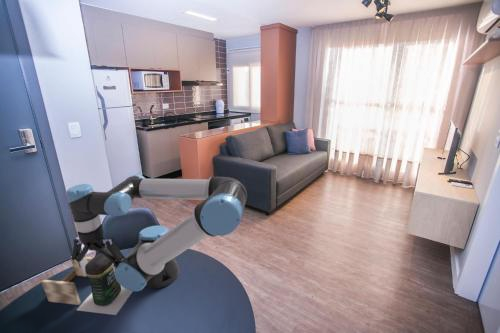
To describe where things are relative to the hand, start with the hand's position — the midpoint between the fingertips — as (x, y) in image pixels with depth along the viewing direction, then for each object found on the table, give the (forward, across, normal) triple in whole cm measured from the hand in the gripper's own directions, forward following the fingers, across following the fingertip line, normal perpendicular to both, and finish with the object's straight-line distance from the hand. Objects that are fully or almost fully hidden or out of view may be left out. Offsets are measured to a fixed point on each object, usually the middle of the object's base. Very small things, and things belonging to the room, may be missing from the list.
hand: (103, 275), depth 94 cm
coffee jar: (+11, 0, 0) cm, 11 cm away
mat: (+11, 0, 0) cm, 11 cm away
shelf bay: (+11, +16, -2) cm, 19 cm away
